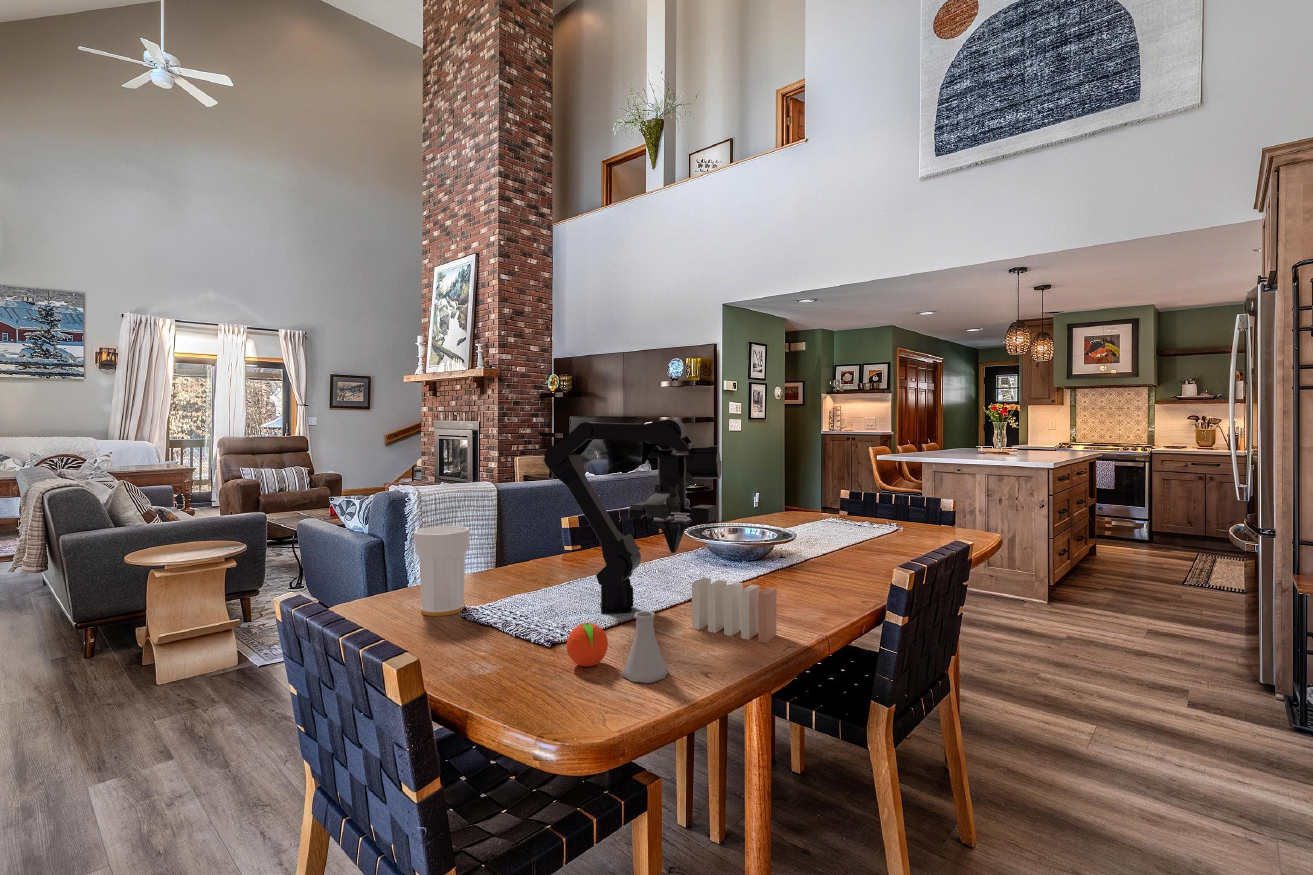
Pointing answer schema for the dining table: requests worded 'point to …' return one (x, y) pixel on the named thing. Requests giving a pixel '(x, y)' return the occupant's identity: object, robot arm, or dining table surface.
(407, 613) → the dining table surface
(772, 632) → the domino
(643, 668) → the flask
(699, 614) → the domino
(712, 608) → the domino
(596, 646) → the clementine
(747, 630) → the domino
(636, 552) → the robot arm
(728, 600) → the domino
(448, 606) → the cup
